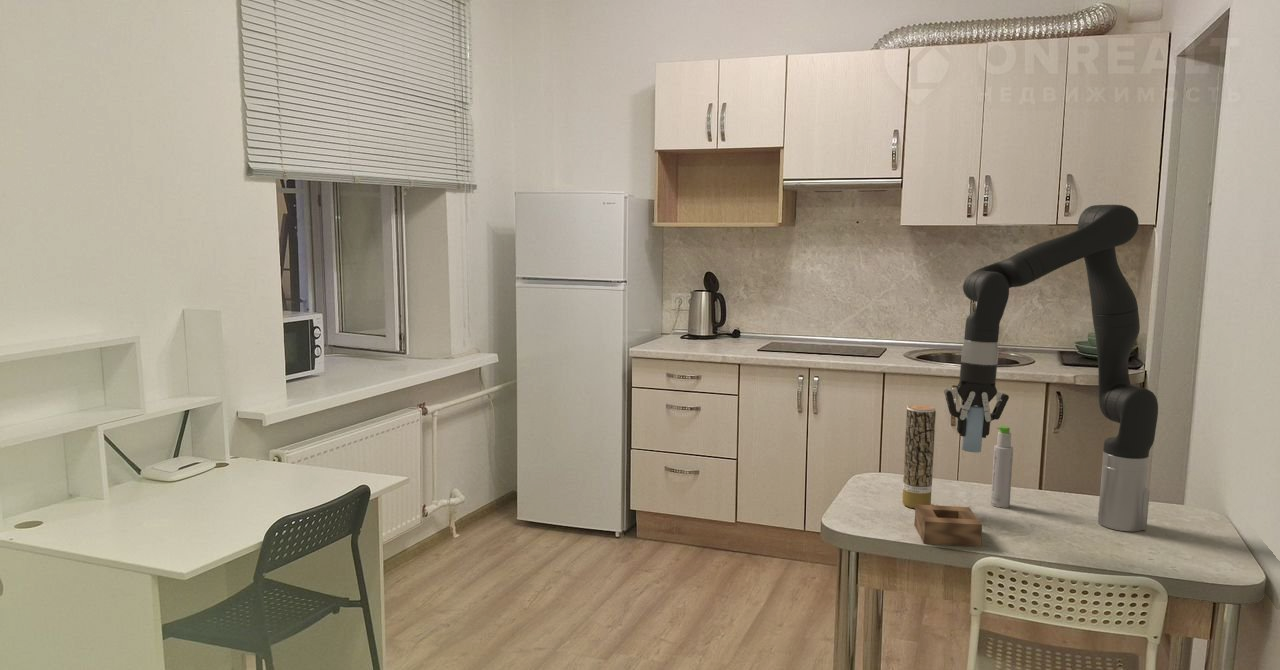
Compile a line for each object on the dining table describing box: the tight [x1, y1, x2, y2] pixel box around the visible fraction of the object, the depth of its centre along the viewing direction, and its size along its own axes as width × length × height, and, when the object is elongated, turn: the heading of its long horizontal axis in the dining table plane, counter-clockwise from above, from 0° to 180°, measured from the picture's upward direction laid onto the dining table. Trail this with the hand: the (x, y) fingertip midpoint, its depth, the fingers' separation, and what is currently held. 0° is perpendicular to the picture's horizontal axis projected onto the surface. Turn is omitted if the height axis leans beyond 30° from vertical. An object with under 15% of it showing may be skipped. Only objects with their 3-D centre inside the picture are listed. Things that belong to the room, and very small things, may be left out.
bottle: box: [990, 425, 1014, 509], centre depth 214 cm, size 4×4×20 cm
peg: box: [961, 405, 984, 454], centre depth 193 cm, size 4×4×10 cm
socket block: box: [913, 504, 983, 548], centre depth 193 cm, size 12×12×5 cm
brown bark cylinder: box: [902, 404, 937, 509], centre depth 213 cm, size 7×7×25 cm
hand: (972, 436), depth 193 cm, fingers closed on peg, 4 cm apart
